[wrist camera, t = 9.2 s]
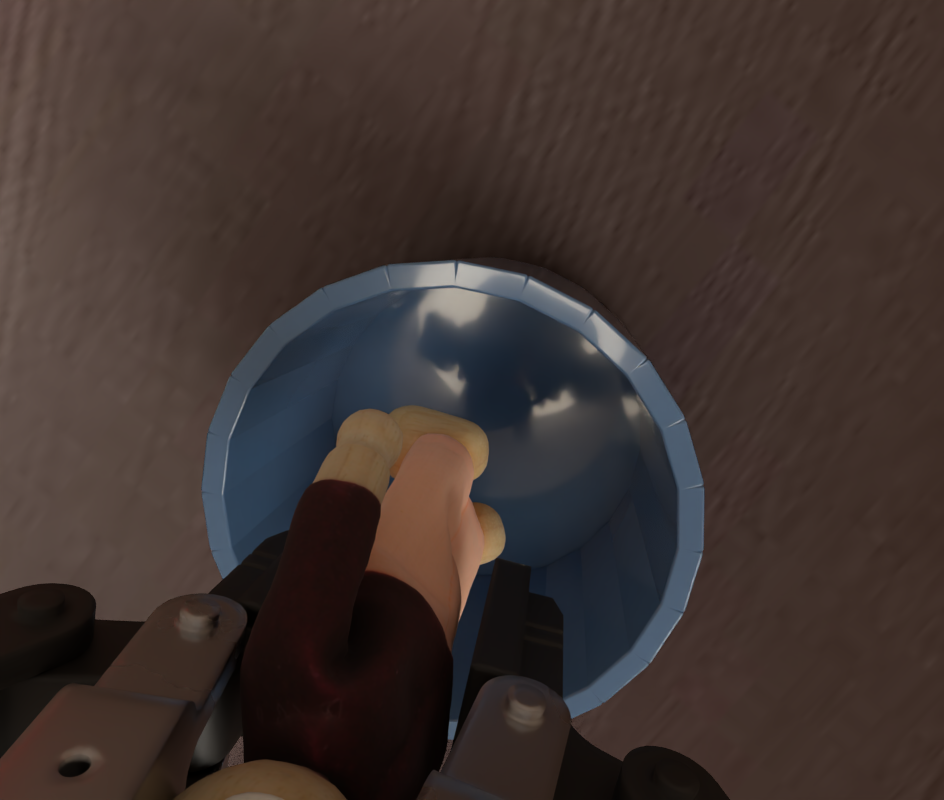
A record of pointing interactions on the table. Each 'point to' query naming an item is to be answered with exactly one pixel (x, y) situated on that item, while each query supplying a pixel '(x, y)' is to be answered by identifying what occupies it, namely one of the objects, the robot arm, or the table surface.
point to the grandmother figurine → (364, 617)
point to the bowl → (509, 436)
